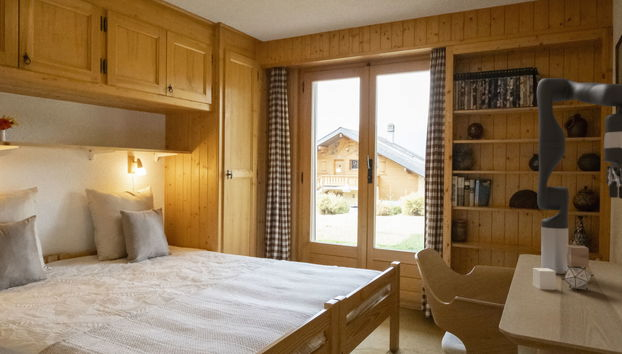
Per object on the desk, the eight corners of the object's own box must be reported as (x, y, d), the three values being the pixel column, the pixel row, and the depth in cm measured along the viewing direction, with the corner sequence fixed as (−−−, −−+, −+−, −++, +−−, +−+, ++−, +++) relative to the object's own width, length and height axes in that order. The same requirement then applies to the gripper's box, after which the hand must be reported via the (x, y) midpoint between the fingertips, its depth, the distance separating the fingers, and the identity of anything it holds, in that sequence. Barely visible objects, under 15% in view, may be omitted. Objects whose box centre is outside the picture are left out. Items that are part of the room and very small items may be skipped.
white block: (532, 285, 146) (532, 267, 146) (548, 286, 146) (548, 268, 146) (539, 289, 141) (539, 271, 141) (555, 289, 141) (555, 271, 141)
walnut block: (566, 263, 145) (566, 245, 145) (584, 264, 143) (584, 246, 143) (570, 265, 140) (570, 247, 140) (588, 267, 139) (588, 248, 139)
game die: (584, 302, 140) (602, 281, 134) (557, 291, 142) (574, 270, 136) (580, 283, 147) (597, 263, 142) (554, 273, 149) (570, 252, 143)
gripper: (597, 148, 145) (597, 197, 145) (612, 145, 132) (612, 198, 132) (623, 148, 143) (623, 197, 143) (641, 145, 130) (641, 199, 129)
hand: (618, 198), depth 137 cm, fingers open, 8 cm apart
